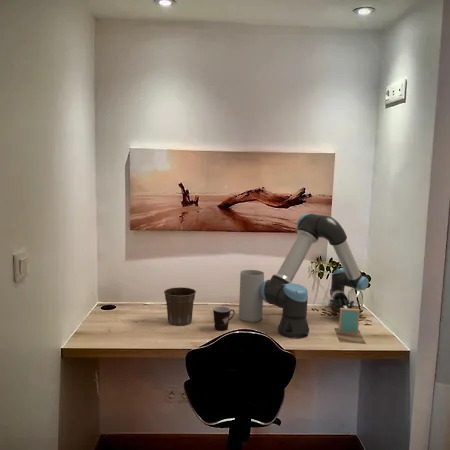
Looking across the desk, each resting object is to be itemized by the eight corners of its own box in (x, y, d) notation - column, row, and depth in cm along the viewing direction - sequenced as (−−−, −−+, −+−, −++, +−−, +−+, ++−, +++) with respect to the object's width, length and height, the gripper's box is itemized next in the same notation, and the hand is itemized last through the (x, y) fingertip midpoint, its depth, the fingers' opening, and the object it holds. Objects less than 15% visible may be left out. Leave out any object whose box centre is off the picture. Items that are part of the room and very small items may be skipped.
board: (333, 329, 229) (334, 327, 228) (358, 331, 227) (358, 329, 227) (339, 344, 210) (339, 341, 210) (365, 346, 209) (366, 343, 208)
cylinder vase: (253, 324, 233) (255, 276, 230) (234, 318, 241) (235, 272, 237) (266, 318, 243) (268, 272, 240) (247, 313, 250) (249, 268, 247)
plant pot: (157, 323, 230) (157, 292, 228) (175, 314, 244) (175, 285, 242) (184, 329, 222) (184, 297, 220) (201, 320, 237) (201, 290, 234)
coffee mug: (214, 332, 220) (214, 312, 219) (211, 326, 228) (211, 306, 227) (237, 331, 222) (238, 311, 221) (233, 325, 231) (234, 306, 229)
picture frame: (338, 331, 223) (340, 307, 222) (357, 332, 222) (359, 309, 221) (339, 332, 221) (340, 309, 220) (358, 334, 220) (359, 310, 219)
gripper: (351, 306, 252) (359, 320, 229) (327, 304, 253) (333, 318, 230) (352, 292, 251) (360, 305, 228) (328, 291, 252) (334, 304, 229)
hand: (346, 312), depth 229 cm, fingers closed
